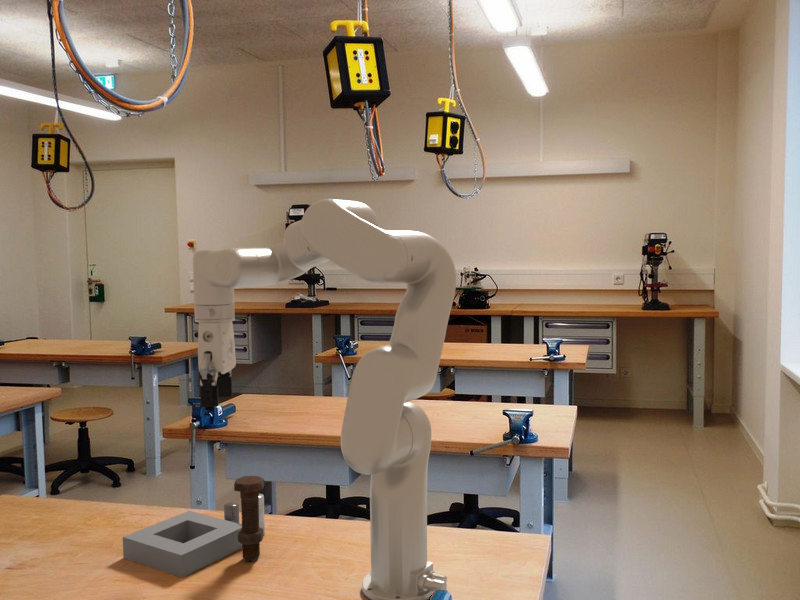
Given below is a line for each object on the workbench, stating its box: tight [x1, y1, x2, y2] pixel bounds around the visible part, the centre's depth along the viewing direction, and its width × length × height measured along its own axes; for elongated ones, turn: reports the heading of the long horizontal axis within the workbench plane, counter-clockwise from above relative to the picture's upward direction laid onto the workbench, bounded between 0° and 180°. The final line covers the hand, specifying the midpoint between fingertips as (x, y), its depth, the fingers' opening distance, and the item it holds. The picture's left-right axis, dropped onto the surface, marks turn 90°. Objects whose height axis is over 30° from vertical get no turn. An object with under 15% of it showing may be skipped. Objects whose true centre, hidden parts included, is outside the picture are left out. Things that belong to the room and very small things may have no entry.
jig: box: [122, 510, 242, 578], centre depth 138 cm, size 16×16×4 cm
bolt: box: [233, 475, 265, 562], centre depth 134 cm, size 6×5×15 cm
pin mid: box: [258, 493, 266, 537], centre depth 146 cm, size 3×3×8 cm
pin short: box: [223, 501, 240, 524], centre depth 150 cm, size 3×3×5 cm
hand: (217, 401), depth 141 cm, fingers open, 9 cm apart
